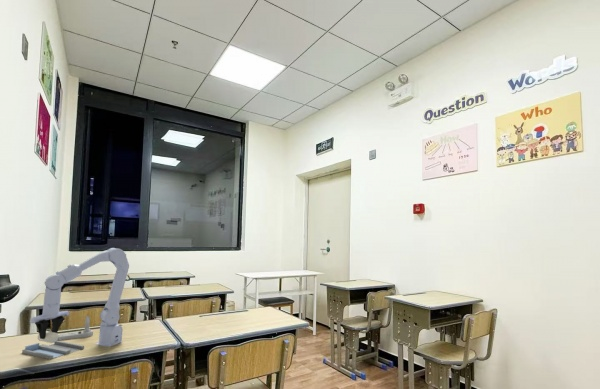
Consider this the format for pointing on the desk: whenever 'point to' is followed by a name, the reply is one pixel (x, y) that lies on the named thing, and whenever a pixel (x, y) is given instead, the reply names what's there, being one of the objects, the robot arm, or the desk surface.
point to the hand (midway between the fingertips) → (48, 336)
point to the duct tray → (51, 349)
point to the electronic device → (80, 334)
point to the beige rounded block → (49, 337)
